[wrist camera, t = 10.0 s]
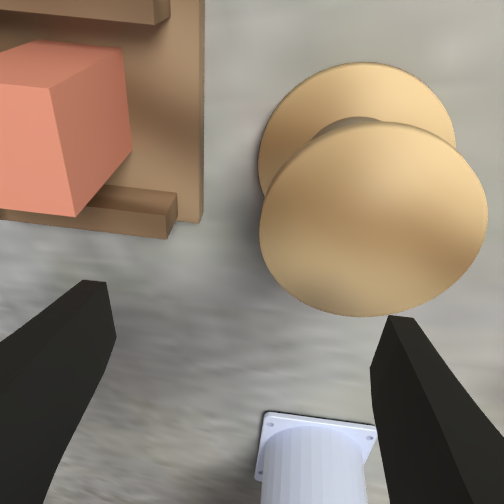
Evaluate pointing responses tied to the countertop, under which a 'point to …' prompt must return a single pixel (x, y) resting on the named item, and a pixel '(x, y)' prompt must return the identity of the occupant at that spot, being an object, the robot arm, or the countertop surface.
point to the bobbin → (366, 193)
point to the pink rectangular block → (60, 124)
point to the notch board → (134, 106)
